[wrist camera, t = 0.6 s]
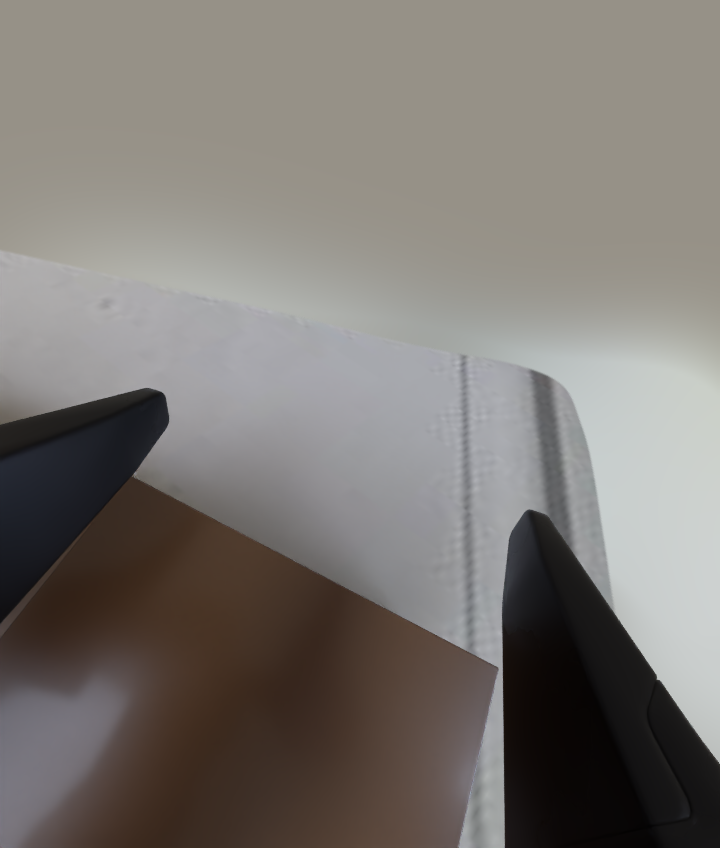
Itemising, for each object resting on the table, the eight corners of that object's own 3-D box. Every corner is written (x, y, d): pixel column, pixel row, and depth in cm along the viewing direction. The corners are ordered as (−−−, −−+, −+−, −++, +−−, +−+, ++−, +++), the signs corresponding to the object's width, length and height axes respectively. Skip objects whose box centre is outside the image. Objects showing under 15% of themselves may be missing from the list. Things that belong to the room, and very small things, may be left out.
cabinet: (-79, 850, 15) (-342, 1065, 8) (164, 510, 22) (129, 474, 15) (304, 1020, 16) (350, 1337, 9) (422, 644, 23) (499, 668, 16)
